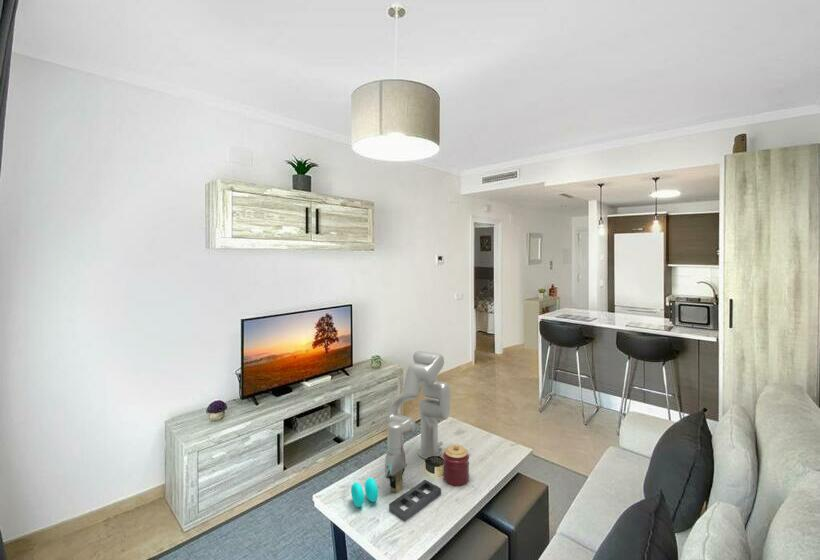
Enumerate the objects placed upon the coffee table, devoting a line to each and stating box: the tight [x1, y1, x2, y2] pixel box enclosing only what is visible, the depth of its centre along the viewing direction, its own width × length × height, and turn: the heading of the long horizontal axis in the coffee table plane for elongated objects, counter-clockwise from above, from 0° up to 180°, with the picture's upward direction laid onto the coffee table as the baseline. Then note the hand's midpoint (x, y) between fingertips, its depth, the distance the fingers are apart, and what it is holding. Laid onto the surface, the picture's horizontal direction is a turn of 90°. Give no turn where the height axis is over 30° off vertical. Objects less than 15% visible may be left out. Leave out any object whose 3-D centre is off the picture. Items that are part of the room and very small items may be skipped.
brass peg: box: [389, 471, 403, 494], centre depth 177 cm, size 4×4×9 cm
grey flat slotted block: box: [388, 479, 442, 522], centre depth 169 cm, size 24×10×3 cm, turn 136°
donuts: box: [350, 477, 379, 508], centre depth 169 cm, size 10×10×10 cm
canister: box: [442, 444, 470, 487], centre depth 185 cm, size 13×13×18 cm
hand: (396, 484), depth 178 cm, fingers closed on brass peg, 4 cm apart
